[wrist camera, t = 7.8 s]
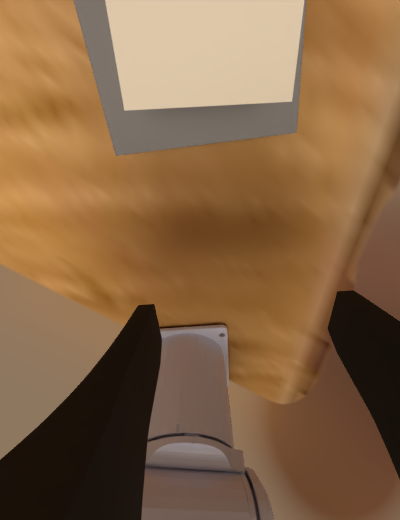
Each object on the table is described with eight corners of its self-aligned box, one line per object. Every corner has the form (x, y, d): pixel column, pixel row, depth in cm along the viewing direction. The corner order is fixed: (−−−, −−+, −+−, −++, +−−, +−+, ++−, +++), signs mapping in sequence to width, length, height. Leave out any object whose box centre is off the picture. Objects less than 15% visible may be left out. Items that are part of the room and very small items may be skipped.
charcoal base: (277, 125, 16) (296, 132, 13) (130, 144, 16) (115, 155, 13) (286, -115, 11) (320, -191, 8) (76, -80, 11) (35, -139, 8)
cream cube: (258, 97, 12) (291, 101, 8) (149, 103, 12) (124, 110, 8) (268, -68, 9) (328, -198, 5) (128, -59, 9) (73, -180, 5)
